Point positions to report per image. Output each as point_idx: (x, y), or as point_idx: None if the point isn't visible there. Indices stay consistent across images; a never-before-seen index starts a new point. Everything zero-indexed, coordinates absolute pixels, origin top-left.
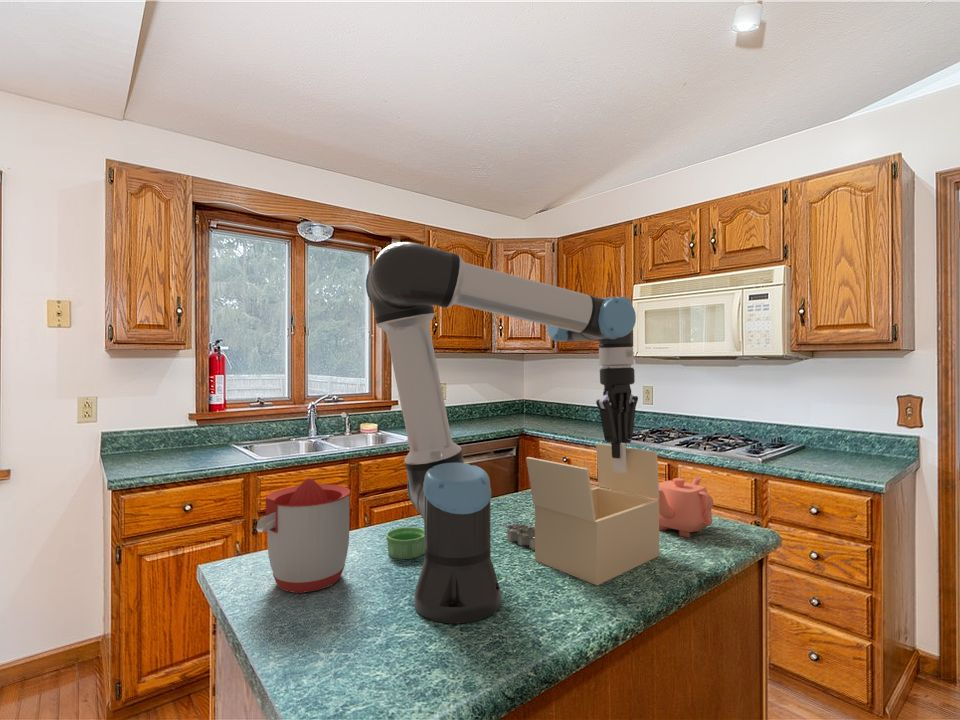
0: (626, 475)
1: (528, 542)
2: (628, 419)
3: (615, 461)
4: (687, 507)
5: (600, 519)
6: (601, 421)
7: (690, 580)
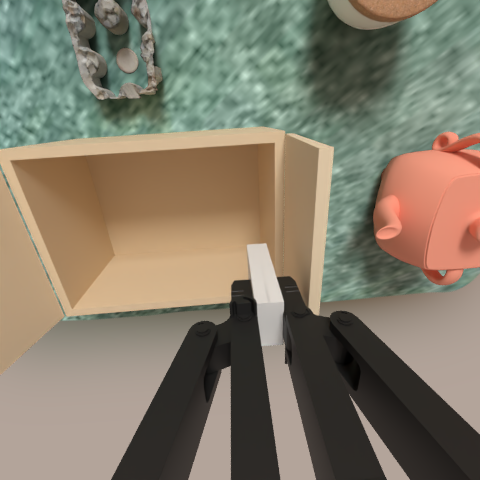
0: (290, 249)
1: (103, 61)
2: (392, 437)
3: (249, 272)
4: (399, 254)
5: (82, 311)
6: (136, 433)
7: (225, 307)
